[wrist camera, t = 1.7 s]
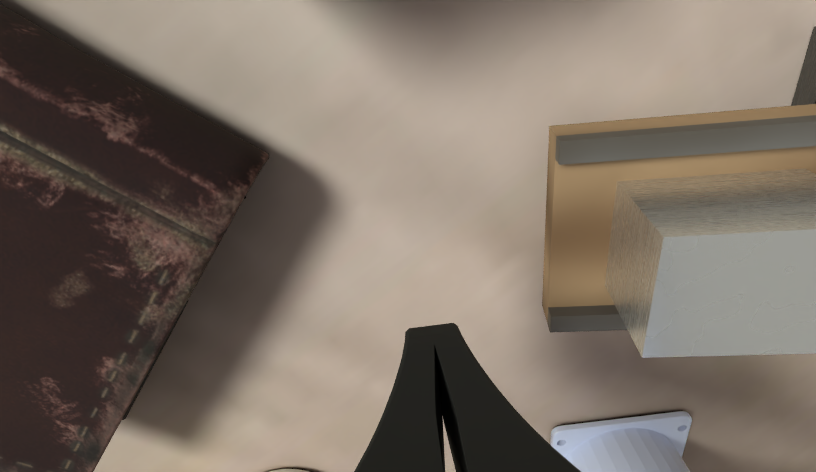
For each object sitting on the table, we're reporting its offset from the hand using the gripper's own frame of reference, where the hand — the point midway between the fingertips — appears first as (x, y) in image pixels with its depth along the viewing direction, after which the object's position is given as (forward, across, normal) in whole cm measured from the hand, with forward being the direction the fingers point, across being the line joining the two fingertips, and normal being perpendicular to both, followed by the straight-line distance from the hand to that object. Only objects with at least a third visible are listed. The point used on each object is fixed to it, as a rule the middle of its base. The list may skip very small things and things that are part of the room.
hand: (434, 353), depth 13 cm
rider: (+5, -10, 0) cm, 11 cm away
